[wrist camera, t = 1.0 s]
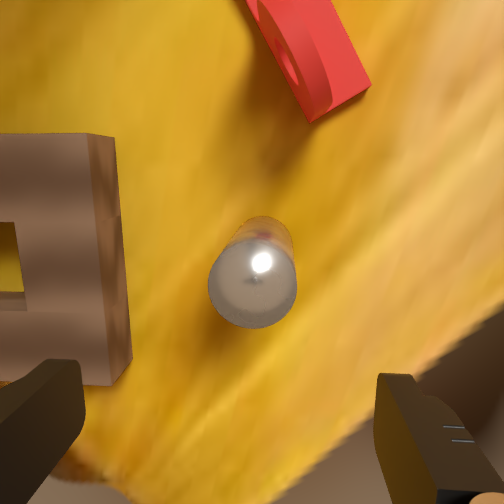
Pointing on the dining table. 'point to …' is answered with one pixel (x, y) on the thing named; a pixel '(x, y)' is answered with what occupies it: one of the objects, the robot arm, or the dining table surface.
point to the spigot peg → (255, 275)
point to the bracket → (311, 52)
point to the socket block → (64, 256)
